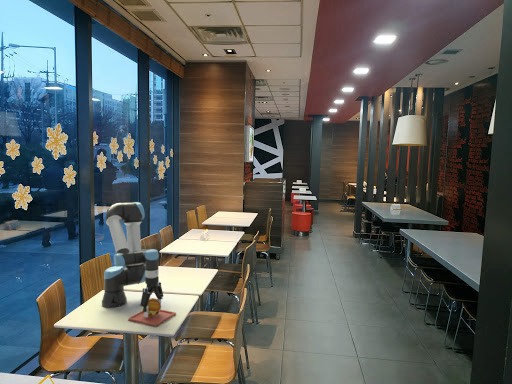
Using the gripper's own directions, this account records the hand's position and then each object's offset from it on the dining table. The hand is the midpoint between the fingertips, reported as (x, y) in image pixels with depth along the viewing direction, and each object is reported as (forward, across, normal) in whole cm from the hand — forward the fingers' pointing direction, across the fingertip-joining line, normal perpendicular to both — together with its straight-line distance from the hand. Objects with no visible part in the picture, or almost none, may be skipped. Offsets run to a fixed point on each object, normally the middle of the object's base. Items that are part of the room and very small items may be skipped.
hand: (152, 313), depth 216 cm
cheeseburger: (+1, 0, 0) cm, 1 cm away
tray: (+3, 0, 0) cm, 3 cm away
